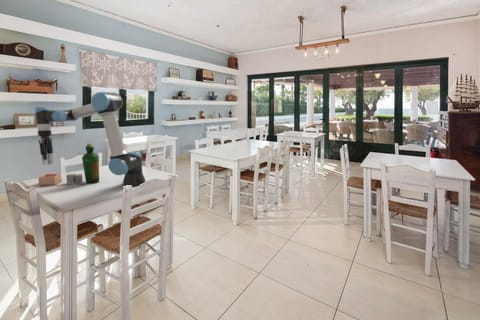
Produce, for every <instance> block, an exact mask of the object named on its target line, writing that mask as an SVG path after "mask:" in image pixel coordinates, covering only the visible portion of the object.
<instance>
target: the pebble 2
mask: <svg viewBox="0 0 480 320" xmlns="http://www.w3.org/2000/svg"><path fill="white" fill-rule="evenodd" d="M75 174H76V173H75ZM83 183H84V179H83V174H78V173H77V174H76V175H75V184H74V185H80V184H81V185H82V184H83Z"/></svg>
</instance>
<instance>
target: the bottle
mask: <svg viewBox="0 0 480 320" xmlns="http://www.w3.org/2000/svg"><path fill="white" fill-rule="evenodd" d="M85 150H86V153H84V154H83V155H82V157H81V160H82V161H81V162H82V167H83V171H84V173H83V174H84V178H85V179H84V180H85V183H86V184H92V185H93V184H97V183H99V182H100V157H99V155H98V154H97V153H95V152H94V150H95V148H94V145H93V144H92V143H89V144H88V143H87V144H86V146H85Z"/></svg>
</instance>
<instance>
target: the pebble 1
mask: <svg viewBox="0 0 480 320" xmlns="http://www.w3.org/2000/svg"><path fill="white" fill-rule="evenodd" d="M47 155H48V161H49V164H48V165H52V164H53V163H54V159H53V153H47ZM41 159H42V165H45V164H44V160H43V155H41Z"/></svg>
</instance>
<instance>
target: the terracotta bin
mask: <svg viewBox="0 0 480 320" xmlns="http://www.w3.org/2000/svg"><path fill="white" fill-rule="evenodd" d="M37 179H38V184H39V185H38V186H39V187H42V186H56V185H58V184H60V183H61V182H62V181H63V180H62V174H61V173H45V174H42V175H40V176H38V178H37Z"/></svg>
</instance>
